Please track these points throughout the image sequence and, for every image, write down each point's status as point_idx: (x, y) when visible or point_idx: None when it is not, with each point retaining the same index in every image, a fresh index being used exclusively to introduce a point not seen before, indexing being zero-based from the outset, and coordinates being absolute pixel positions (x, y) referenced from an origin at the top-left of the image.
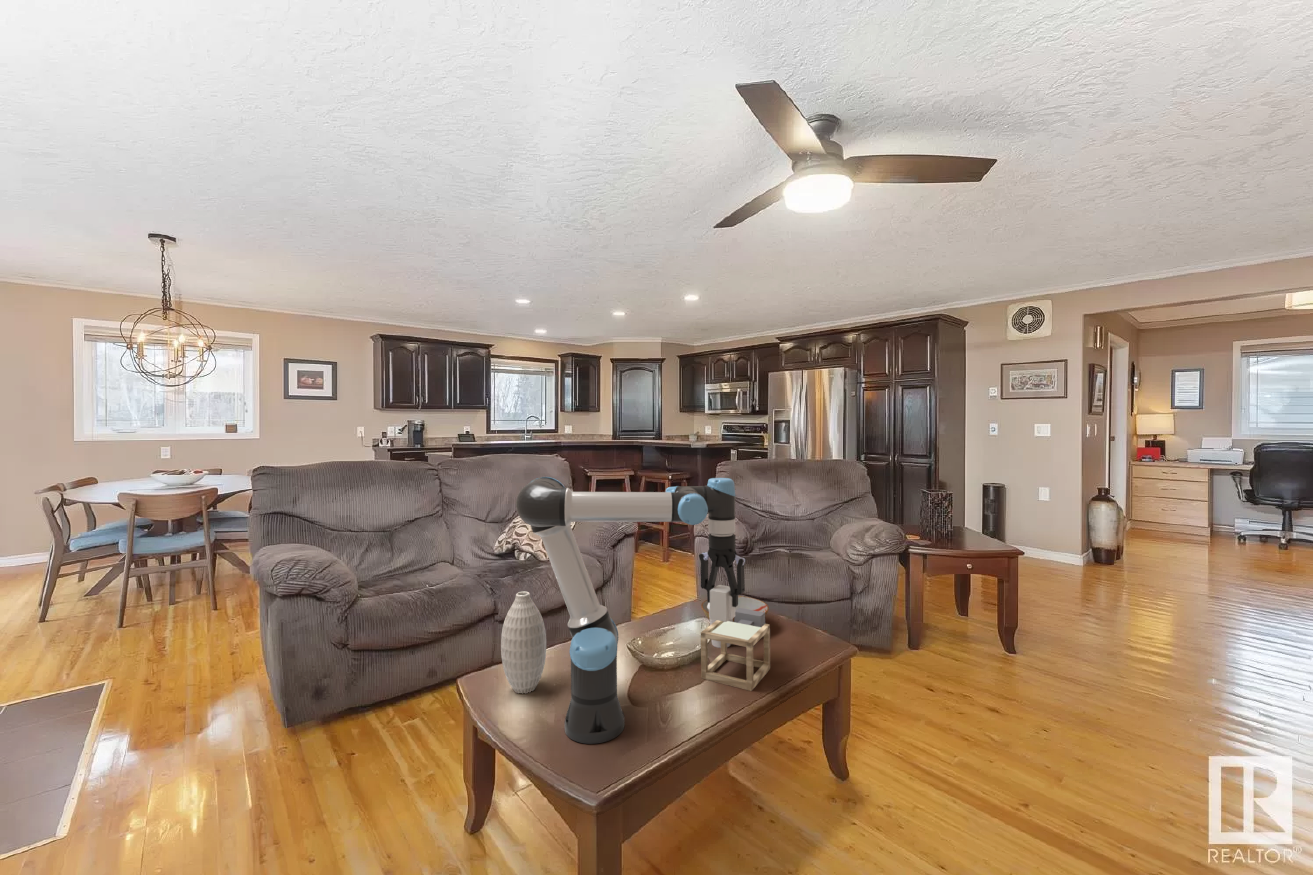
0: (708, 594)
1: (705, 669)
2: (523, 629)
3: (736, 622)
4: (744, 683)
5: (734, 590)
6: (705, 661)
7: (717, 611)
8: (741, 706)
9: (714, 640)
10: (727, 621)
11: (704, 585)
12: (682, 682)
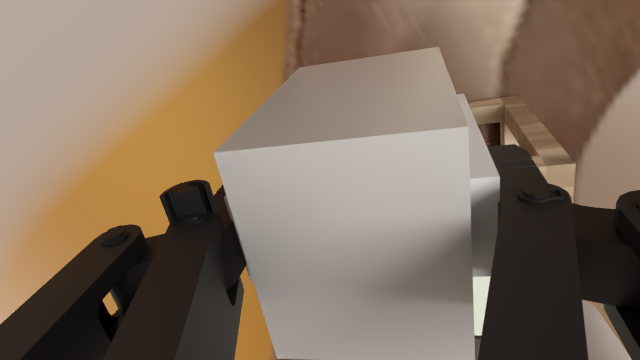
0: (527, 181)
1: (507, 108)
2: None
3: None
4: None
5: (162, 243)
6: (514, 117)
7: (365, 73)
8: (310, 17)
9: (586, 312)
10: None
11: (629, 218)
12: (569, 25)
